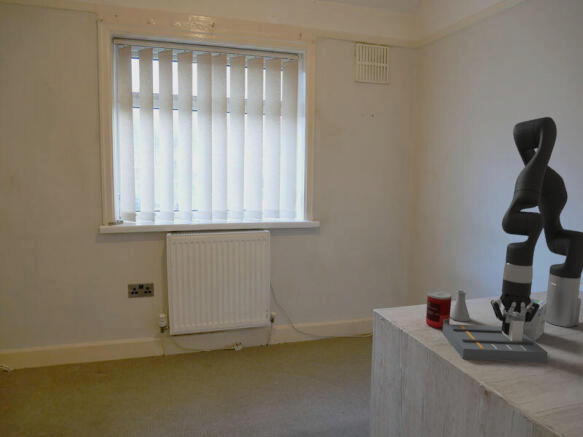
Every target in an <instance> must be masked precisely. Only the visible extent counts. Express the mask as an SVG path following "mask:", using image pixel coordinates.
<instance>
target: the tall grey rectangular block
mask: <svg viewBox="0 0 583 437" xmlns="http://www.w3.org/2000/svg"><path fill="white" fill-rule="evenodd" d="M524 321H525V320H524V319H522V318H520V317H519V316H517V314H515V312H513V315H512V316H511V318H510V322H509V323H510V328H509V335H506V334H504V332H503V331H502V334H504V335H505V336H506V337H507V338H508V339H509V340H510V341H522V337H523V327H524Z"/></svg>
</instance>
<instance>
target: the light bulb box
mask: <svg viewBox="0 0 583 437" xmlns="http://www.w3.org/2000/svg"><path fill="white" fill-rule="evenodd" d="M530 299H531V301H532V302H536V303H537V304H539V305H540V307H539V309H538V310H537V312H536V314H535V316H534V317H533V319H532V321H531V322H525V323H524V330H523V333H524V334H525V335H526V336H527V337H529V338H530V339H531V340H532V341H534V342H536V341H537V340H538V339H539V338H540V337H541V336H542V335H543V334H544V333H545V324H546V321H545V317H546V308H547V302H546V300H545V301H544V300H539V299H534V298H531V297H530ZM528 308H529V307H528V306H527V307H526V309H525V313H526V311H527V309H528ZM514 313H515V314H516V312H514Z"/></svg>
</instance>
